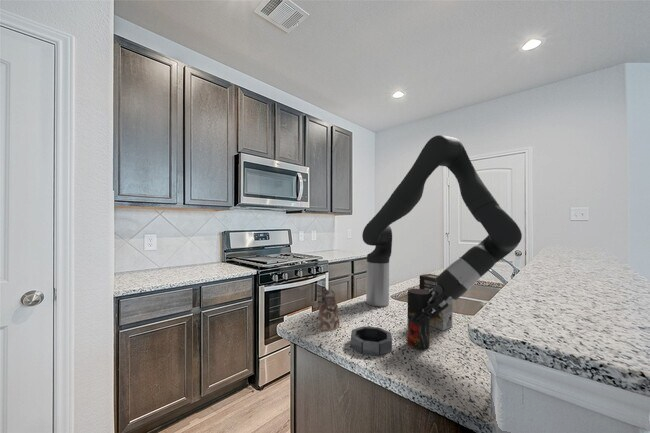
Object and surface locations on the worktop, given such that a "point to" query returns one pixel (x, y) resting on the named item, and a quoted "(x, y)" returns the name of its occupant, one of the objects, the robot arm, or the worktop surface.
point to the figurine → (328, 312)
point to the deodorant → (420, 333)
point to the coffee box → (446, 315)
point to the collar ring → (371, 340)
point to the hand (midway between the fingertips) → (412, 318)
